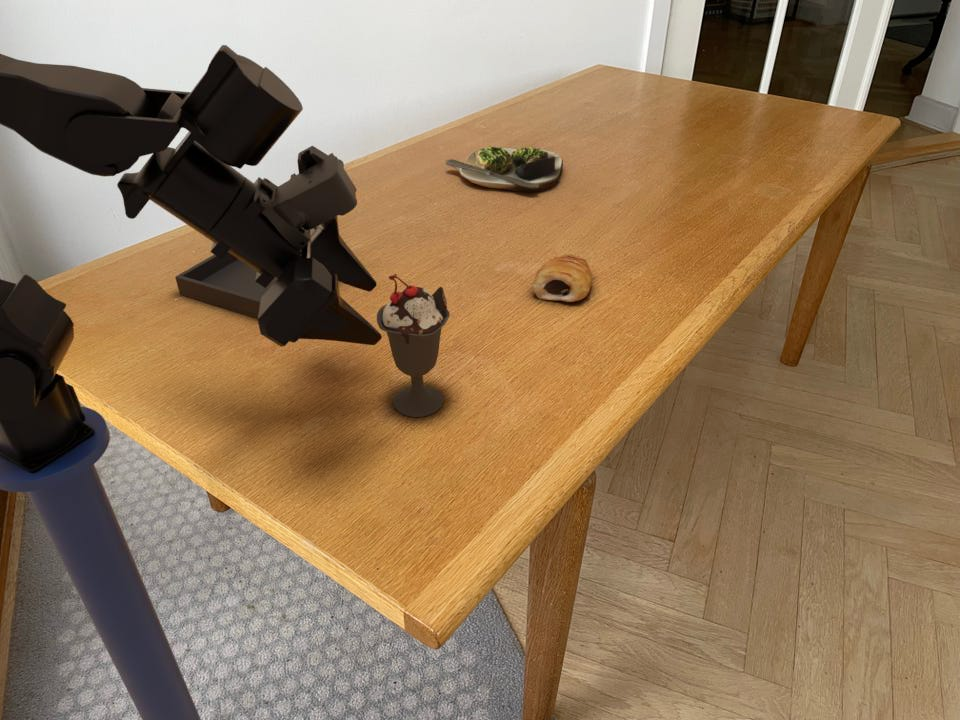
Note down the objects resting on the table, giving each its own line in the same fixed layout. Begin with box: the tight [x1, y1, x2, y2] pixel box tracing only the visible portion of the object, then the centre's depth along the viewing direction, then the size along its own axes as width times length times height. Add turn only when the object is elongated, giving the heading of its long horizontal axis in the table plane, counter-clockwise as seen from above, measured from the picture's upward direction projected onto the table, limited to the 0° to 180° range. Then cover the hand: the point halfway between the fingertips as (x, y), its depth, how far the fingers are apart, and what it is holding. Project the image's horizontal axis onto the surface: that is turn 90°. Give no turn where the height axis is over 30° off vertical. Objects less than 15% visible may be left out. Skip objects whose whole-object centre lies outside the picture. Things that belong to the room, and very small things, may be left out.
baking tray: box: [175, 252, 277, 319], centre depth 91 cm, size 15×15×2 cm
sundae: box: [376, 273, 451, 418], centre depth 67 cm, size 7×7×15 cm
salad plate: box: [444, 145, 564, 193], centre depth 120 cm, size 19×18×5 cm
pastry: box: [531, 253, 593, 303], centre depth 90 cm, size 9×7×4 cm
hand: (376, 312), depth 65 cm, fingers open, 9 cm apart
